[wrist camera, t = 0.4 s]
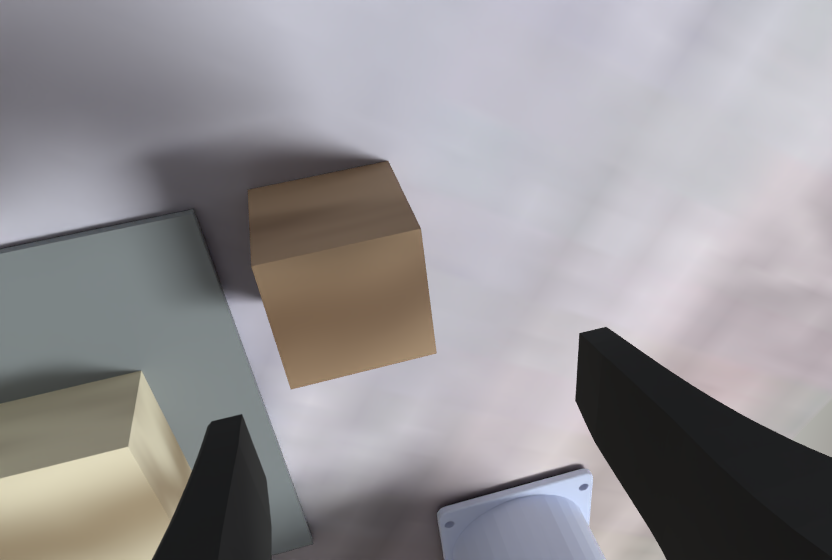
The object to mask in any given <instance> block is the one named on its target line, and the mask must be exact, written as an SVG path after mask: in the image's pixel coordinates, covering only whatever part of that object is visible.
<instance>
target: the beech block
mask: <svg viewBox="0 0 832 560" xmlns="http://www.w3.org/2000/svg"><path fill="white" fill-rule="evenodd" d="M191 472H192V470H191V468H190V466H189V464H188V462H187V460H186V458H185V456H184V454H183V452H182V450H181V448H180V446H179V444H178V442H177V440H176V438H175V436H174V434H173V432H172V430H171V428H170V426H169V425H168V423H167V421H166V419H165V417H164V415H163V413H162V411H161V409H160V407H159V405H158V403H157V401H156V399H155V397H154V395H153V393H152V391H151V389H150V387H149V385H148V383H147V381H146V379H145V377H144V375H143V373H142V371H137V372H133V373H129V374H125V375H120V376H116V377H112V378H108V379H103V380H99V381H95V382H90V383H86V384H82V385H78V386H73V387H69V388H65V389H61V390H56V391H52V392H48V393H44V394H39V395H35V396H31V397H27V398H22V399H18V400H14V401H10V402H5V403H1V404H0V560H152V558H153V556H154V554H155V552H156V550H157V548H158V546H159V544H160V542H161V540H162V538H163V536H164V534H165V532H166V530H167V528H168V526H169V524H170V521H171V519H172V517H173V515H174V512H175V510H176V508H177V505H178V503H179V501H180V498H181V496H182V494H183V491H184V489H185V487H186V484H187V482H188V479H189V477H190V474H191Z"/></svg>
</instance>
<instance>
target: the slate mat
mask: <svg viewBox="0 0 832 560" xmlns="http://www.w3.org/2000/svg"><path fill="white" fill-rule="evenodd" d="M137 371H142V373H143V375H144V377H145V379H146V381H147V383H148V385H149V387H150V389H151V391H152V393H153V395H154V397H155V399H156V401H157V403H158V405H159V407H160V409H161V411H162V413H163V415H164V417H165V419H166V421H167V423H168V425H169V426H170V428H171V430H172V432H173V434H174V436H175V438H176V440H177V442H178V444H179V446H180V448H181V450H182V452H183V454H184V456H185V458H186V460H187V462H188V464H189V466H190V468H191V470H192V469H193V467H194V464H195V461H196V459H197V456H198V453H199V450H200V448H201V445H202V442H203V439H204V436H205V433H206V429H207V426H208V425H209V424H210V423H211V421H215V420H219V419H223V418H227V417H232V416H236V415H240V414H242V415H243V418H244V420H245V423H246V426H247V428H248V431H249V434H250V436H251V439H252V441H253V444H254V447H255V449H256V452H257V455H258V457H259V460H260V463H261V465H262V468H263V471H264V473H265V476H266V479H267V487H268V496H269V505H270V515H271V525H272V555H275V554H279V553H283V552H286V551H290V550H294V549H297V548H301V547H304V546H308V545H312V544H313V538H312V535H311V532H310V530H309V527H308V524H307V521H306V519H305V516H304V513H303V510H302V507H301V505H300V502H299V499H298V496H297V494H296V491H295V488H294V485H293V483H292V480H291V477H290V474H289V472H288V469H287V466H286V463H285V461H284V458H283V455H282V452H281V450H280V447H279V444H278V441H277V438H276V436H275V433H274V430H273V427H272V425H271V422H270V419H269V416H268V414H267V411H266V408H265V405H264V403H263V400H262V397H261V394H260V392H259V389H258V386H257V383H256V381H255V378H254V375H253V372H252V370H251V367H250V364H249V361H248V358H247V356H246V353H245V350H244V347H243V345H242V342H241V339H240V336H239V334H238V331H237V328H236V325H235V323H234V320H233V317H232V314H231V312H230V309H229V306H228V303H227V301H226V298H225V295H224V292H223V289H222V287H221V284H220V281H219V278H218V276H217V273H216V270H215V267H214V265H213V262H212V259H211V256H210V254H209V251H208V248H207V245H206V243H205V240H204V237H203V234H202V232H201V229H200V226H199V223H198V220H197V218H196V215H195V212H194V209H192V210H187V211H182V212H177V213H172V214H168V215H163V216H158V217H153V218H148V219H143V220H139V221H134V222H129V223H124V224H119V225H115V226H110V227H105V228H100V229H95V230H90V231H86V232H81V233H76V234H71V235H66V236H61V237H57V238H52V239H47V240H42V241H37V242H32V243H28V244H23V245H18V246H13V247H8V248H3V249H0V404H1V403H5V402H10V401H14V400H18V399H22V398H27V397H31V396H35V395H39V394H44V393H48V392H52V391H56V390H61V389H65V388H69V387H73V386H78V385H82V384H86V383H90V382H95V381H99V380H103V379H108V378H112V377H116V376H120V375H125V374H129V373H133V372H137Z"/></svg>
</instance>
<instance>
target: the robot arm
mask: <svg viewBox="0 0 832 560" xmlns="http://www.w3.org/2000/svg"><path fill="white" fill-rule="evenodd" d="M575 401H576V403H577V405H578V407H579V409H580V412H581V414H582V416H583V418H584V421H585V423H586V425H587V427H588V429H589V431H590V433H591V435H592V437H593V439H594V441H595V443H596V445H597V446H598V448H599V450H600V451H601V453H602V454H603V456H604V458H605V459H606V461H607V462H608V464H609V466H610V467H611V469H612V470H613V472H614V474H615V475H616V477H617V478H618V480H619V481H620V483H621V485H622V486H623V488H624V489H625V491H626V492H627V494H628V496H629V497H630V499H631V500H632V502H633V504H634V505H635V507H636V508H637V510H638V511H639V513H640V515H641V516H642V518H643V519H644V521H645V522H646V524H647V526H648V527H649V529H650V530H651V532H652V534H653V536H654V537H655V539H656V541H657V542H658V544H659V546H660V548H661V549H662V551H663V553H664V555H665V557H666V559H667V560H832V457H829V456H827V455H825V454H822V453H819V452H817V451H815V450H813V449H810V448H808V447H806V446H804V445H802V444H799V443H797V442H795V441H793V440H791V439H789V438H787V437H785V436H782V435H780V434H778V433H776V432H774V431H772V430H770V429H768V428H766V427H764V426H762V425H760V424H758V423H756V422H754V421H753V420H751V419H749V418H747V417H745V416H743V415H741V414H740V413H738V412H736V411H734V410H733V409H731V408H729V407H727V406H726V405H724V404H722V403H721V402H719V401H717V400H715V399H714V398H712V397H710V396H709V395H707V394H705V393H704V392H702V391H700V390H699V389H697V388H696V387H694V386H692V385H691V384H689V383H688V382H686V381H685V380H683V379H682V378H680V377H679V376H677V375H675V374H674V373H672V372H671V371H669V370H668V369H666V368H665V367H663V366H662V365H660V364H659V363H658V362H656V361H655V360H653V359H652V358H650V357H649V356H647V355H646V354H644V353H643V352H642V351H640V350H639V349H637V348H636V347H634V346H633V345H632V344H630V343H629V342H627V341H626V340H624V339H623V338H621V337H620V336H619V335H617V334H616V333H614V332H613V331H611V330H610V329H608V328H607V327H604V328H600V329H595V330H591V331H587V332H583V333H579V350H578V366H577V383H576V399H575ZM592 484H593V476H592V474H591V472H590V470H588V469H579V470H575V471H572V472H568V473H564V474H561V475H557V476H554V477H550V478H546V479H543V480H539V481H535V482H532V483H528V484H525V485H521V486H517V487H514V488H510V489H506V490H503V491H499V492H496V493H492V494H488V495H485V496H481V497H477V498H474V499H470V500H467V501H463V502H459V503H456V504H452V505H448V506H445V507H443V508H441V509H440V510H439V511H438V513H437V519H438V526H439V532H440V538H441V545H442V551H443V558H444V560H606V559H605V557H604V555H603V553H602V551H601V549H600V547H599V545H598V543H597V541H596V539H595V537H594V535H593V533H592V531H591V530H590V528H589V520H590V508H591V496H592ZM152 560H272V525H271V515H270V505H269V496H268V487H267V479H266V476H265V473H264V471H263V468H262V465H261V463H260V460H259V457H258V455H257V452H256V449H255V447H254V444H253V441H252V439H251V436H250V434H249V431H248V428H247V426H246V423H245V420H244V418H243V415H242V414H240V415H236V416H232V417H227V418H223V419H219V420H215V421H211V423H210V424H209V425H208V426H207V429H206V433H205V436H204V439H203V442H202V445H201V448H200V450H199V453H198V456H197V459H196V461H195V464H194V467H193V469H192V472H191V474H190V477H189V479H188V482H187V484H186V487H185V489H184V491H183V494H182V496H181V498H180V501H179V503H178V505H177V508H176V510H175V512H174V515H173V517H172V519H171V521H170V524H169V526H168V528H167V530H166V532H165V534H164V536H163V538H162V540H161V542H160V544H159V546H158V548H157V550H156V552H155V554H154V556H153V558H152Z"/></svg>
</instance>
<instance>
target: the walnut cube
mask: <svg viewBox="0 0 832 560" xmlns="http://www.w3.org/2000/svg"><path fill="white" fill-rule="evenodd" d="M248 208H249V230H250V251H251V267H252V270H253V273H254V276H255V280H256V283H257V286H258V289H259V292H260V295H261V298H262V301H263V304H264V307H265V311H266V314H267V317H268V320H269V323H270V326H271V329H272V332H273V335H274V338H275V342H276V345H277V348H278V351H279V354H280V357H281V360H282V363H283V366H284V369H285V373H286V376H287V379H288V382H289V385H290V388H291V389H295V388H299V387H303V386H307V385H311V384H315V383H319V382H323V381H327V380H331V379H335V378H339V377H343V376H347V375H351V374H355V373H359V372H363V371H367V370H371V369H375V368H379V367H383V366H387V365H391V364H395V363H400V362H404V361H408V360H412V359H416V358H420V357H424V356H428V355H432V354H436V345H435V337H434V329H433V321H432V313H431V305H430V297H429V289H428V281H427V273H426V265H425V258H424V250H423V242H422V234H421V228H420V226H419V224H418V222H417V220H416V218H415V215H414V213H413V211H412V209H411V207H410V205H409V203H408V201H407V199H406V197H405V195H404V193H403V191H402V189H401V186H400V184H399V182H398V180H397V178H396V176H395V174H394V172H393V170H392V168H391V166H390V164H389V162H388V161H385V162H380V163H375V164H370V165H365V166H361V167H356V168H351V169H346V170H341V171H336V172H331V173H327V174H322V175H317V176H312V177H307V178H302V179H298V180H293V181H288V182H283V183H278V184H273V185H268V186H264V187H259V188H254V189H249V190H248Z"/></svg>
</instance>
